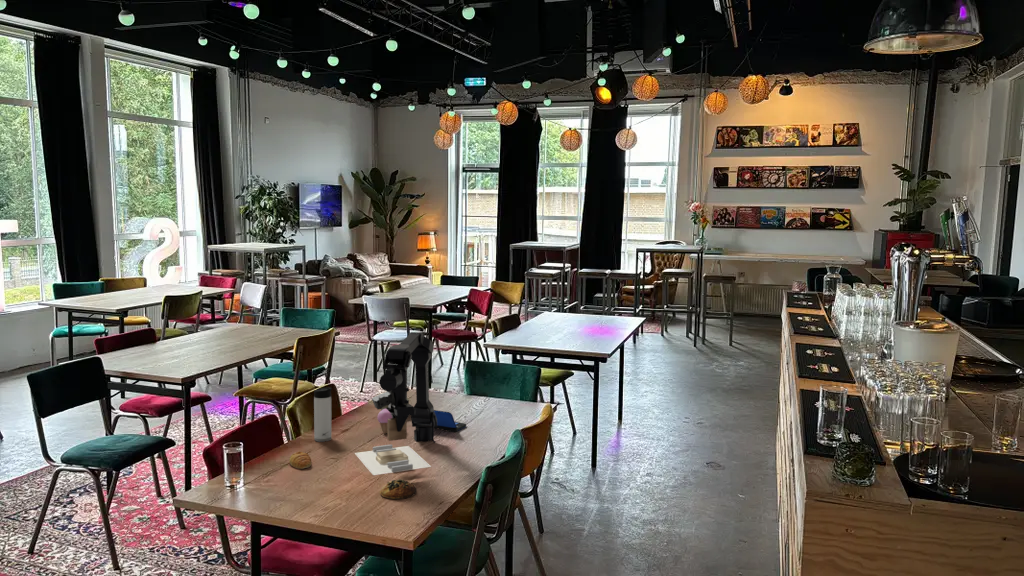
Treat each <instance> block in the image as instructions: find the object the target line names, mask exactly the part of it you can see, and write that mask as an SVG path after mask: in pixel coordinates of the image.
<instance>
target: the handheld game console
mask: <svg viewBox="0 0 1024 576" xmlns="http://www.w3.org/2000/svg"><path fill="white" fill-rule="evenodd" d="M434 412H435V414H436V417H437V427H434V428H435V429H434V430H437V429H436V428H439V429H438V430H441V429H443V430H442V431H445V430H447V431H448V432H453V433H457V432H458V431H461V430H462V429H465V428H466V427H467V424H466V423H465V422H460V421H459V422H458V421H455V418H454V416H453V414H452V412H450V411H444V410H435V409H434Z"/></svg>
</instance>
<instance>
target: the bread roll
mask: <svg viewBox="0 0 1024 576" xmlns="http://www.w3.org/2000/svg"><path fill="white" fill-rule="evenodd" d="M379 494H380V495H381V496H382V497H383V498H385V499H388V500H390V499H392V500H400V499H402V500H403V499H408V498H411V497H413V496H414V495H416V494H417V487H416V485H414V483H412V482H409V481H408V480H404V479H401V478H398V479H397V480H396V479H392V480H391V481H388V482H387V483H386V484H385V485H384V486H382V487H381V489H380V491H379Z"/></svg>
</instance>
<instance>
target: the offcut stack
mask: <svg viewBox="0 0 1024 576" xmlns="http://www.w3.org/2000/svg"><path fill="white" fill-rule="evenodd" d="M376 460H377V461H378V462H379V463H380V464H383V463H388V462H395V461H402V460H408V456H407V455H406V454H405V453H404V452H402V451H401V450H392V451H385V452H377V456H376Z"/></svg>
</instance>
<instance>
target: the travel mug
mask: <svg viewBox="0 0 1024 576" xmlns="http://www.w3.org/2000/svg"><path fill="white" fill-rule="evenodd" d="M332 389H333V388H332V387H320V388H319V387H318V388H317V389H316V390H314V392H313V395H314V396H313V409H314V410H313V414H314V415H313V416H314V417H313V422H314V430H313V432H314V433H313V434H314V435H313V436H314V441H315V442H318V443H319V442H320V443H326V442H329V441H331V440H332ZM325 441H326V442H325Z"/></svg>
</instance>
